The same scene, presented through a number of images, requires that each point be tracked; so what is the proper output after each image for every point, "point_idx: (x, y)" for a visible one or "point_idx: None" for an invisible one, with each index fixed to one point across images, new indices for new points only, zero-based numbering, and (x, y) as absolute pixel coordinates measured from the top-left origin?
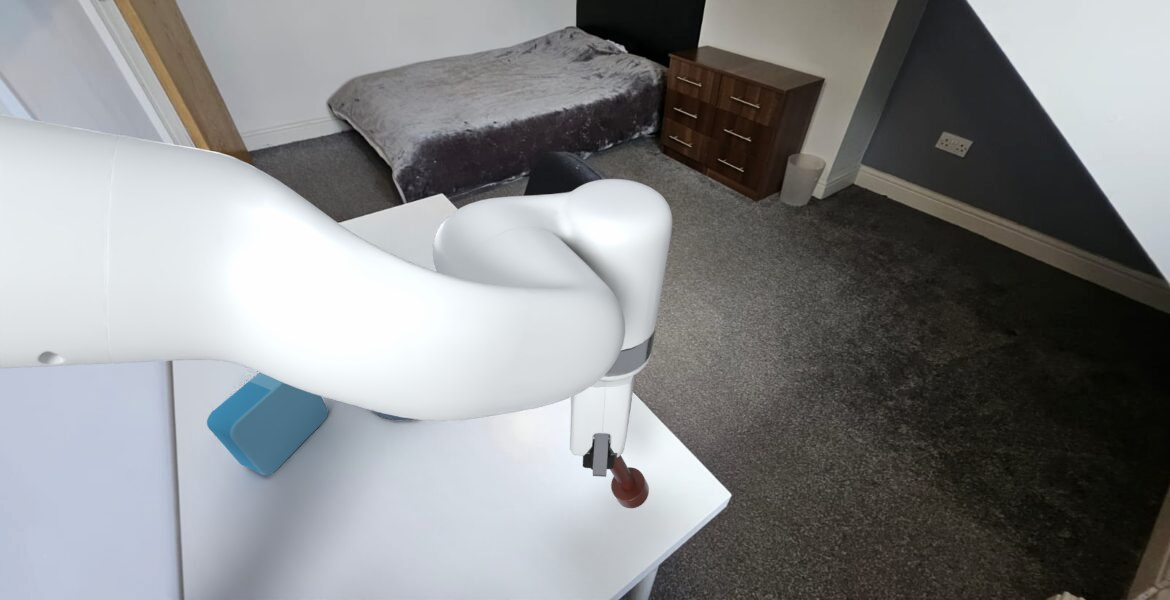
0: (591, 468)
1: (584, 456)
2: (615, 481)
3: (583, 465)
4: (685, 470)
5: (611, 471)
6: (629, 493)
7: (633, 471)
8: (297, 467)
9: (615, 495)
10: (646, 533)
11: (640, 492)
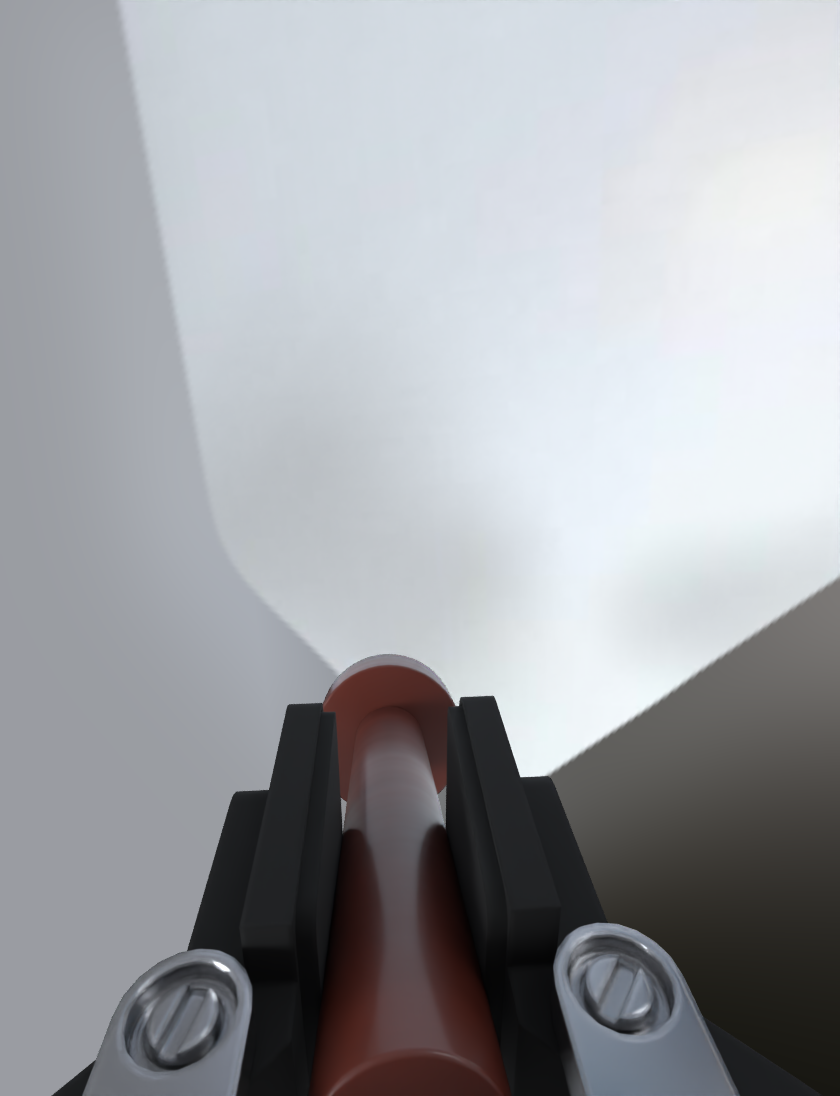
0: (231, 802)
1: (267, 807)
2: (403, 684)
3: (287, 715)
4: (563, 736)
5: (360, 767)
6: (342, 749)
7: (439, 765)
8: None
9: (340, 687)
10: (379, 636)
11: (343, 796)
